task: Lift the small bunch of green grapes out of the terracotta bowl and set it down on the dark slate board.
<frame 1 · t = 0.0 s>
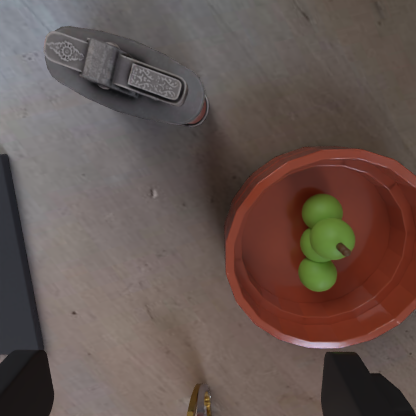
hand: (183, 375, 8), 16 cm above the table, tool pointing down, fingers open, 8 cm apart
grapes: (313, 237, 23), resting on bowl
lighter: (156, 95, 22), on the table
bowl: (311, 235, 24), on the table
ring: (205, 392, 28), on the table
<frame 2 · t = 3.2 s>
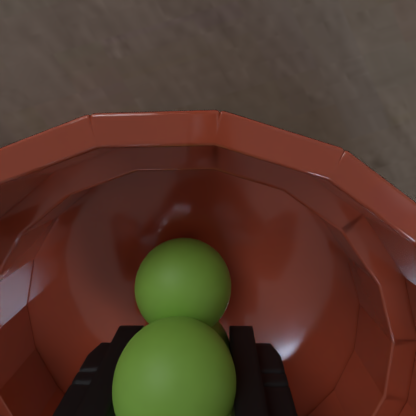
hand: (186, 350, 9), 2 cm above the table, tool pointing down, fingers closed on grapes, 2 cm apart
grapes: (190, 326, 11), resting on bowl, touching gripper
bowl: (191, 317, 11), on the table
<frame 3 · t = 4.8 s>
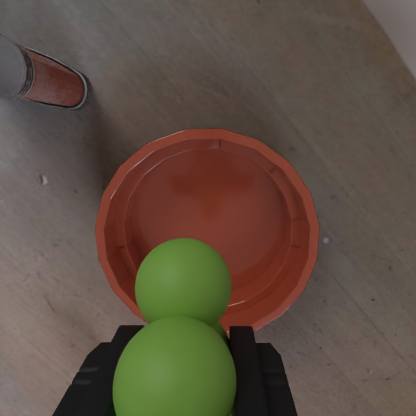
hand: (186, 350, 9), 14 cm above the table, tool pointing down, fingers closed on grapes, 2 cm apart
grapes: (190, 326, 11), point 13 cm above the table, touching gripper
lighter: (38, 77, 21), on the table
bowl: (208, 223, 23), on the table
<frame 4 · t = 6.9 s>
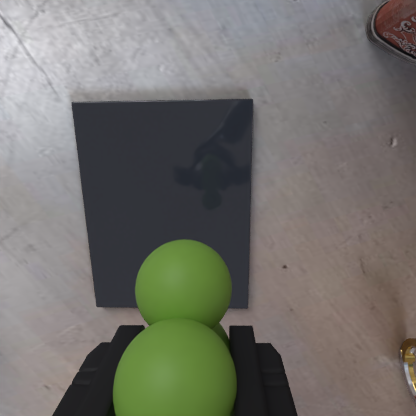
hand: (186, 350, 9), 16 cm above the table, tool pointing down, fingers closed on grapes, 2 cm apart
grapes: (191, 327, 11), point 15 cm above the table, touching gripper
slate board: (168, 211, 25), on the table
ring: (401, 350, 28), on the table
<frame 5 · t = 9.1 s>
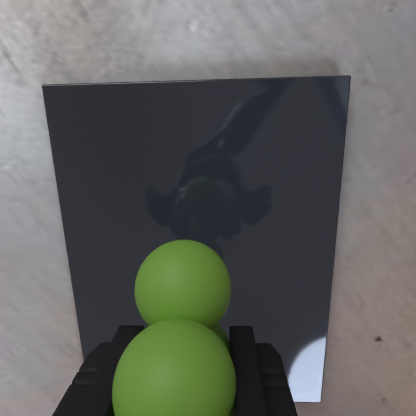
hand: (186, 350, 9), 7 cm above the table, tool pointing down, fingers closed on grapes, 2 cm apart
grapes: (190, 327, 11), point 6 cm above the table, touching gripper
slate board: (200, 257, 16), on the table
when the fingers open (2 cm above the table, at t = 10.7 s): grapes stays where it is and tips over, resting on slate board.
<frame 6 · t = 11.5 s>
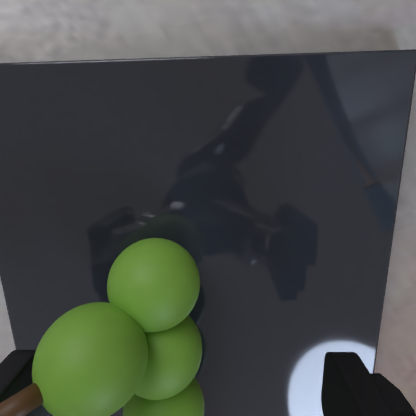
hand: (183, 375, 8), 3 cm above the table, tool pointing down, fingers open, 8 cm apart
grapes: (188, 327, 11), point 1 cm above the table, tilted 37°, touching slate board
slate board: (192, 308, 12), on the table
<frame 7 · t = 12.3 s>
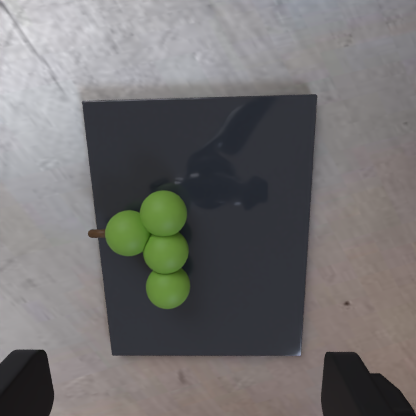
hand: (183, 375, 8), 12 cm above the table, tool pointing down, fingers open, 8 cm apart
grapes: (188, 250, 18), point 2 cm above the table, tilted 90°, touching slate board
slate board: (202, 237, 20), on the table
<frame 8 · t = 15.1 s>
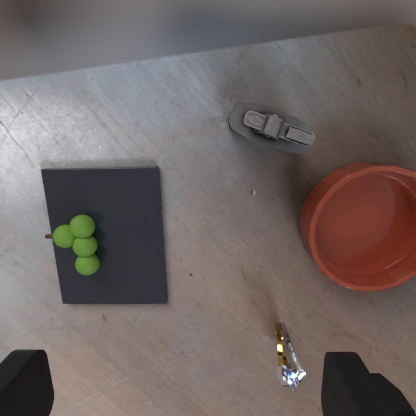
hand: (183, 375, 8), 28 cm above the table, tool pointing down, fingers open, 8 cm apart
grapes: (96, 245, 36), point 2 cm above the table, tilted 90°, touching slate board
lighter: (260, 129, 34), on the table
bowl: (357, 220, 36), on the table
slate board: (109, 238, 38), on the table
ring: (278, 331, 40), on the table
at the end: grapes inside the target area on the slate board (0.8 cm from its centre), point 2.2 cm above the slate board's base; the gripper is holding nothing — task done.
